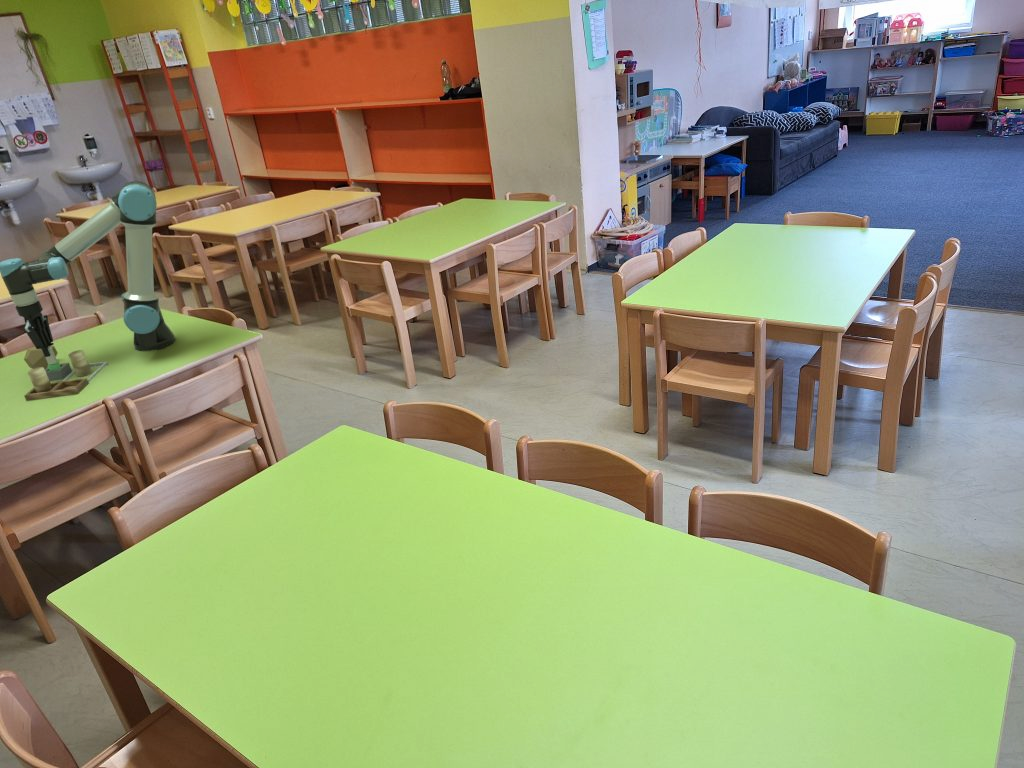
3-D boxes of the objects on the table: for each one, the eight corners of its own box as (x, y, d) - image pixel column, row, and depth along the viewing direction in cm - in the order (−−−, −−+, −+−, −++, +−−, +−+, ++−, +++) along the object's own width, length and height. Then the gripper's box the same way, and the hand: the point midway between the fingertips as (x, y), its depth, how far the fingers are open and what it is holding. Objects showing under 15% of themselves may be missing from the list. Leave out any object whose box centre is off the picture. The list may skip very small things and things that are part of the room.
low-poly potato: (43, 377, 270) (67, 354, 274) (17, 358, 265) (41, 335, 269) (42, 376, 282) (65, 354, 286) (17, 358, 277) (40, 336, 281)
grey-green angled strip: (108, 365, 273) (107, 361, 272) (90, 383, 258) (88, 379, 257) (81, 369, 273) (79, 365, 272) (60, 387, 258) (59, 383, 257)
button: (66, 374, 267) (60, 361, 265) (61, 379, 264) (55, 365, 262) (56, 376, 267) (50, 362, 265) (51, 380, 264) (45, 367, 262)
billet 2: (94, 371, 267) (85, 349, 264) (88, 377, 263) (79, 354, 259) (81, 373, 267) (72, 351, 263) (75, 378, 263) (65, 356, 259)
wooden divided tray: (89, 385, 257) (86, 377, 256) (78, 396, 249) (75, 388, 248) (40, 391, 256) (37, 384, 255) (27, 403, 248) (24, 395, 247)
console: (73, 373, 269) (68, 362, 267) (64, 381, 263) (59, 370, 261) (54, 376, 269) (49, 365, 267) (45, 384, 263) (40, 373, 261)
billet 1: (56, 389, 254) (46, 366, 250) (49, 395, 250) (39, 372, 246) (42, 391, 254) (32, 368, 250) (35, 397, 250) (24, 374, 246)
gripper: (25, 298, 258) (51, 357, 269) (6, 310, 247) (33, 372, 257) (46, 295, 259) (71, 354, 269) (28, 307, 247) (54, 369, 257)
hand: (53, 363), depth 263 cm, fingers closed
